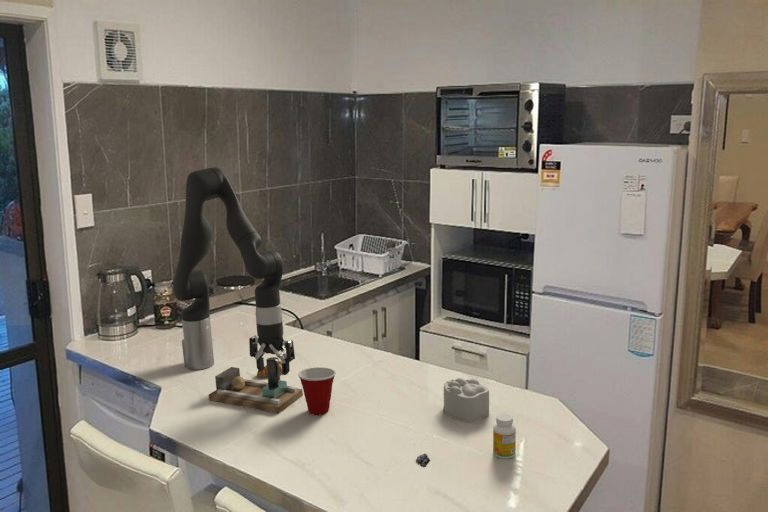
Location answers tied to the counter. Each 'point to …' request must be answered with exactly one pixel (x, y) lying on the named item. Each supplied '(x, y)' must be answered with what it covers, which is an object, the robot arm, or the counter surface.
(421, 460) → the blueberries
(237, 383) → the walnut
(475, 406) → the lumpy-topped squat cylinder
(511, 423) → the supplement bottle
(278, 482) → the counter surface
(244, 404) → the base
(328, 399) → the plastic cup
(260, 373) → the pastry
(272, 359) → the jaw
